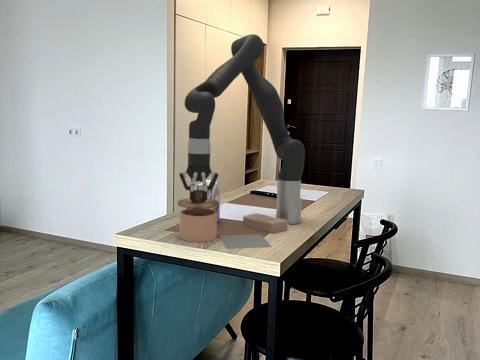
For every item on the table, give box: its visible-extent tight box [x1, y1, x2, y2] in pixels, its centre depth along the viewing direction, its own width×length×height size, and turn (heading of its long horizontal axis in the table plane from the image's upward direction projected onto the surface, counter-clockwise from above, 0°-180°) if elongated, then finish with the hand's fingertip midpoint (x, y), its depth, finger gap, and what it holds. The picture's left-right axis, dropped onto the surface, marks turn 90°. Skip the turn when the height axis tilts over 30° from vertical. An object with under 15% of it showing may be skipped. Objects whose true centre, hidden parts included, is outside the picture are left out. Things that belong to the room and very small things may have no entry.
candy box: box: [196, 179, 221, 223], centre depth 179 cm, size 14×6×16 cm, turn 168°
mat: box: [219, 233, 273, 250], centre depth 157 cm, size 15×15×1 cm
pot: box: [179, 208, 218, 243], centre depth 161 cm, size 13×13×9 cm
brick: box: [242, 213, 289, 234], centre depth 176 cm, size 17×8×5 cm, turn 44°
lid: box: [177, 189, 219, 209], centre depth 159 cm, size 14×14×5 cm
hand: (198, 201), depth 159 cm, fingers closed on lid, 3 cm apart
